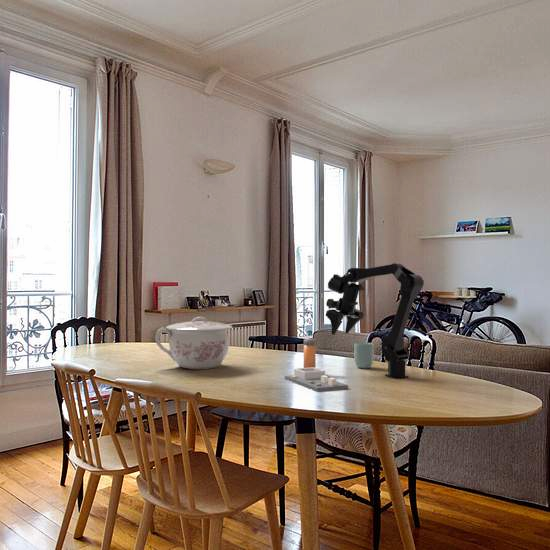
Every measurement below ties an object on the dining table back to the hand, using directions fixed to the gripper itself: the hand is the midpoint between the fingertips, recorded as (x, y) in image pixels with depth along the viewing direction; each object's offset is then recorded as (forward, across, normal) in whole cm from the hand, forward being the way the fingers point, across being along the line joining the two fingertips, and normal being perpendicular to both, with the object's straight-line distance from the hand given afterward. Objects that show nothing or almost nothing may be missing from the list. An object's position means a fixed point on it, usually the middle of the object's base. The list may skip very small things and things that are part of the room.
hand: (339, 333), depth 228 cm
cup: (+12, -8, +10) cm, 18 cm away
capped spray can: (+14, +18, +3) cm, 23 cm away
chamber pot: (+27, +38, -37) cm, 60 cm away
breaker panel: (+10, +32, +17) cm, 38 cm away
